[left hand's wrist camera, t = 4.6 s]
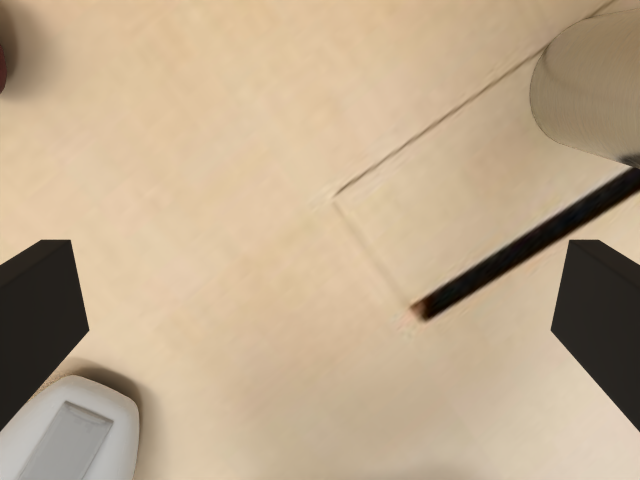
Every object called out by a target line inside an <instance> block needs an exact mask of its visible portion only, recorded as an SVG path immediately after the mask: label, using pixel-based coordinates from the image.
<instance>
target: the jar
mask: <svg viewBox="0 0 640 480" xmlns="http://www.w3.org/2000/svg"><path fill="white" fill-rule="evenodd" d="M530 103H531V108H532V112H533V115H534V118H535V120H536V122H537V124H538V125H539V127H540V128H541V130H542V131H543V132H544V133H545V134H546V135H547V136H548V137H550V138H551V139H553V140H554V141H556V142H558V143H560V144H563V145H566V146H569V147H572V148H575V149H579V150H582V151H585V152H588V153H591V154H594V155H598V156H601V157H604V158H607V159H610V160H613V161H616V162H620V163H623V164H626V165H629V166H632V167H635V168H639V169H640V8H638V9H632V10H627V11H621V12H616V13H611V14H605V15H600V16H595V17H591V18H587V19H585V20H582V21H579V22H577V23H576V24H574V25H572V26H570V27H569V28H567V29H566V30H564V31H563V32H562V33H561V34H559V35H558V36H557V37H556V38H555V39H554V40H553V41H552V42H551V43H550V44H549V46H548V47H547V48H546V50H545V51H544V52H543V54H542V56H541V58H540V59H539V61H538V63H537V66H536V68H535V70H534V74H533V77H532V81H531V87H530Z"/></svg>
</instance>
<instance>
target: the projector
mask: <svg viewBox="0 0 640 480" xmlns="http://www.w3.org/2000/svg"><path fill="white" fill-rule="evenodd" d="M138 444H139V412H138V408H137V405H136V404H135V402H134V401H133V400H131V399H130V398H129V397H127V396H125V395H123V394H121V393H119V392H117V391H115V390H113V389H111V388H109V387H107V386H104V385H102V384H100V383H97V382H95V381H92V380H89V379H86V378H84V377H81V376H77V375H69V376H66V377H63V378H61V379H59V380H57V381H56V382H54V383H52V384H51V385H49V386H48V387H47V388H45V389H44V390H42V391H41V392H40V393H38V394H37V395H36V396H35V397H33V398H32V399H31V400H30V401H28V402H27V403H26V404H25V405H24V406H23V407H22V408H21V409H20V410H19V411H18V412H17V413H16V415H15V416H14V417H13V418H12V419H11V420H10V421H9V423H8V424H7V425H6V426H5V427H4V428H3V429H2V431H1V432H0V480H133V476H134V471H135V466H136V460H137V452H138Z"/></svg>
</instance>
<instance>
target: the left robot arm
mask: <svg viewBox="0 0 640 480" xmlns="http://www.w3.org/2000/svg"><path fill="white" fill-rule="evenodd" d="M88 331H89V326H88V321H87V316H86V312H85V307H84V302H83V297H82V292H81V288H80V283H79V278H78V273H77V268H76V263H75V259H74V254H73V249H72V244H71V240H40V241H39V242H37V243H35V244H34V245H32V246H31V247H29V248H27V249H26V250H24V251H22V252H21V253H19V254H18V255H16V256H14V257H13V258H11V259H10V260H8V261H6V262H5V263H3V264H1V265H0V432H1V431H2V429H3V428H4V427H5V426H6V425H7V424H8V423H9V421H10V420H11V419H12V418H13V417H14V416H15V415H16V413H17V412H18V411H19V410H20V409H21V408H22V407H23V405H24V404H25V403H26V402H27V401H28V400H29V399H30V397H31V396H32V395H33V394H34V393H35V392H36V391H37V390H38V388H39V387H40V386H41V385H42V384H43V383H44V382H45V380H46V379H47V378H48V377H49V376H50V375H51V374H52V372H53V371H54V370H55V369H56V368H57V367H58V366H59V364H60V363H61V362H62V361H63V360H64V359H65V358H66V356H67V355H68V354H69V353H70V352H71V351H72V350H73V348H74V347H75V346H76V345H77V344H78V343H79V342H80V341H81V339H82V338H83V337H84V336H85V335H86V334H87V333H88ZM551 331H552V333H553V334H554V335H555V336H556V337H557V338H558V339H559V341H560V342H561V343H562V344H563V345H564V346H565V347H566V348H567V350H568V351H569V352H570V353H571V354H572V355H573V356H574V358H575V359H576V360H577V361H578V362H579V363H580V364H581V366H582V367H583V368H584V369H585V370H586V371H587V372H588V374H589V375H590V376H591V377H592V378H593V379H594V380H595V382H596V383H597V384H598V385H599V386H600V387H601V388H602V390H603V391H604V392H605V393H606V394H607V395H608V396H609V398H610V399H611V400H612V401H613V402H614V403H615V404H616V405H617V407H618V408H619V409H620V410H621V411H622V412H623V413H624V415H625V416H626V417H627V418H628V419H629V420H630V421H631V423H632V424H633V425H634V426H635V427H636V428H637V429H638V431H639V432H640V265H639V264H637V263H635V262H634V261H632V260H630V259H629V258H627V257H626V256H624V255H622V254H621V253H619V252H618V251H616V250H614V249H613V248H611V247H609V246H608V245H606V244H605V243H603V242H601V241H600V240H569V244H568V249H567V254H566V259H565V263H564V268H563V273H562V278H561V283H560V288H559V292H558V297H557V302H556V307H555V312H554V316H553V321H552V326H551Z"/></svg>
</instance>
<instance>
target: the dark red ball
mask: <svg viewBox="0 0 640 480" xmlns="http://www.w3.org/2000/svg"><path fill="white" fill-rule="evenodd" d="M6 76H7V68H6V63H5V57H4V52H3V49H2V47H1V44H0V93H1V92H2V90H3V89H4V87H5V82H6Z"/></svg>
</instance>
